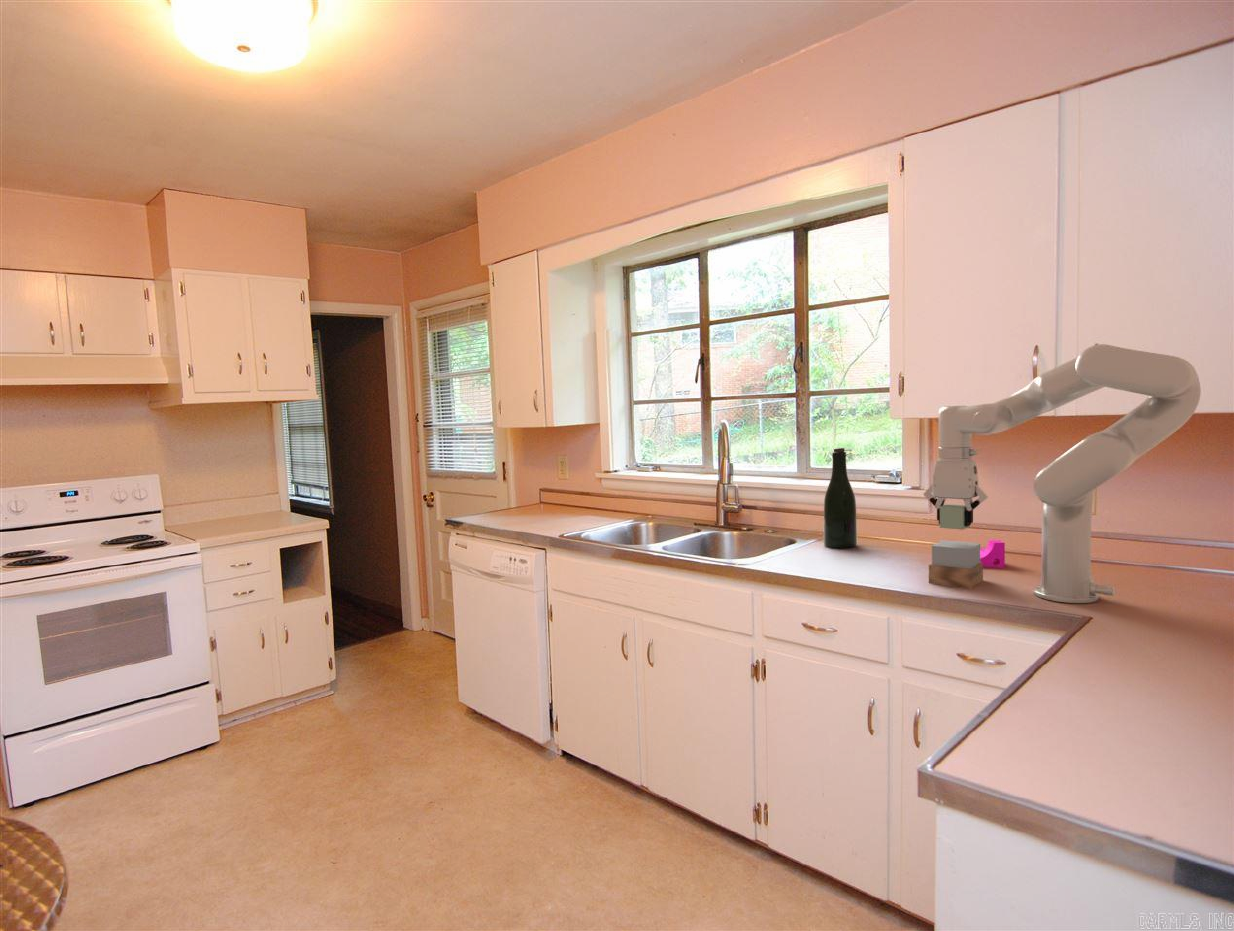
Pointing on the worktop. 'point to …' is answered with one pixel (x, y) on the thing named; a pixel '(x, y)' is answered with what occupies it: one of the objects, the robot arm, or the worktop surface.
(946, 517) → the sage cube
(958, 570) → the tower bottom
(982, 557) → the toy block
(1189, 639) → the worktop surface
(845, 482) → the dark green wine bottle
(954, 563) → the tower top
